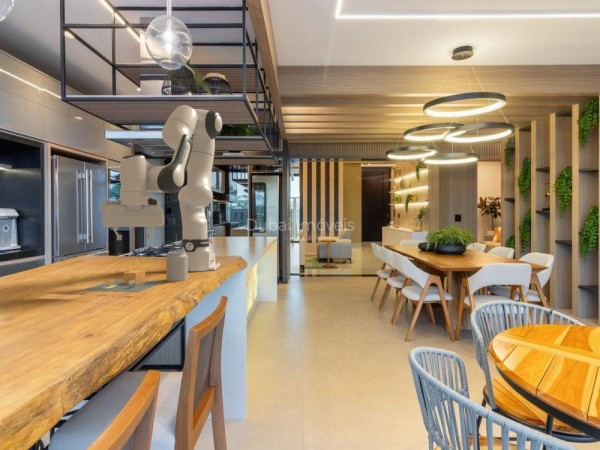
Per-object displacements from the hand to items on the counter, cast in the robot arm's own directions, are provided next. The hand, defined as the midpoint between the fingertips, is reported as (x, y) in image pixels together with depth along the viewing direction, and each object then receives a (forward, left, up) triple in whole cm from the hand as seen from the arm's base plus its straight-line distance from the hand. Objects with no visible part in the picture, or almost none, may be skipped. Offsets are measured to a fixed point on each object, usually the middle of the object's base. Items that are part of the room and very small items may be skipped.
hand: (134, 239), depth 137 cm
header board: (+5, 0, -17) cm, 17 cm away
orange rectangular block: (0, 0, -15) cm, 15 cm away
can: (-8, +12, -17) cm, 22 cm away
